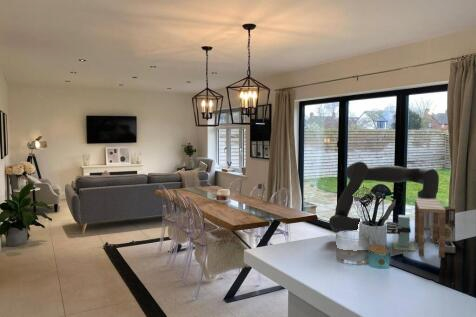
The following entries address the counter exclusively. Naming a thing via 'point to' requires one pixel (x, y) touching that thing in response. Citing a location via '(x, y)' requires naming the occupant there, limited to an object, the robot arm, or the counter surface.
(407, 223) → the teal block
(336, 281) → the counter surface
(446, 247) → the pit box
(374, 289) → the counter surface
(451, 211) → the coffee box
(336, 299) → the counter surface
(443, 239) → the small wooden table
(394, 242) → the mat
